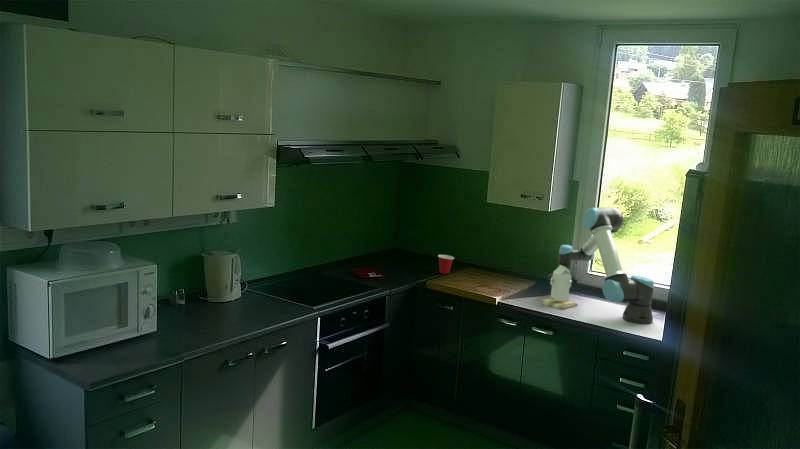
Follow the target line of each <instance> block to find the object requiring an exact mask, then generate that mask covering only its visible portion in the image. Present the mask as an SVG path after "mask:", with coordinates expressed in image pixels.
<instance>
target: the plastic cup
mask: <svg viewBox="0 0 800 449" xmlns="http://www.w3.org/2000/svg"><path fill="white" fill-rule="evenodd" d="M437 258H438V265H439V274H440V273H442V274H447V273H449V274H450V270H451V267H452V264H453V261H454V259H455V257H454V256H452V255H448V254H438V255H437ZM442 274H441V275H442Z"/></svg>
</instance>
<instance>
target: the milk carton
mask: <svg viewBox="0 0 800 449" xmlns="http://www.w3.org/2000/svg"><path fill="white" fill-rule="evenodd" d="M552 272H553V273H552V274H553V280H552V285H551V292H550V298H553V299H555V300H557V301H559V300H567V301H569V295H570V287H569V285H570V278H571V276H572V275H571V272H570V273H569V272H568V270H567V269H566V268H565V267H563V266H561V265H559V267H558V266H557V267H556V269H555V270H553V271H552Z"/></svg>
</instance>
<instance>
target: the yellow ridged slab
mask: <svg viewBox="0 0 800 449" xmlns="http://www.w3.org/2000/svg"><path fill="white" fill-rule="evenodd" d="M540 304H542V305H545V306H548V307H552V308H556V309H559V310H562V311H565V310H569V309H572V308H576V307H578V303H577V302H573V301H571V300H559V301H557V300H555V299H553V298H552V297H550V298H545V299H542V300H540Z"/></svg>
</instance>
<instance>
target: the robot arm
mask: <svg viewBox="0 0 800 449" xmlns="http://www.w3.org/2000/svg"><path fill="white" fill-rule="evenodd" d="M582 219H583V220H582V223H583V226H584V227H585V229H587V230H590V234H591V235H592V236H590V238H588V240H587V241H586V242H585V243H584V244H583V245H582V246H581V247H580V248H574V247H573V246H572V245H570V244H561V245H560V247H559V251H558V262H557V268H558V267H559V265H561V266H563V267H565V268H566V269H567V270H568V272H569V273H570V274H571V266H572V262H588V261H592V260H594V258H595V253H596V251H598V252H599V254H600V257H601V262H602V265H603V269H604V273H605V278H604V281H603V283H602V288H601V289H602V294H603V295H604V297H605V298H606V300H608V301H609V302H612V303H625V302H627V305H626V307H625V308H624V311H623V313H622V318H623V319H624V320H626V321H627V322H631V323H634V324H641V325H643V324H644V325H646V324H647V325H649V324H652V323H653V322H654V315H653V312H652V300H653V293H654V289H655V288H654V285H655V283H654V280H652V279H650V278H647V277H644V276H640V275H631V277H630V279H629V278H628V275H627V273H625V272H624V271H623V269H622V268H623V267H622V264H621V261H620V258H619V255H618V252H617V248H616V244H615V241H614V239H613V236H612V235H613V234H615V233H618V232H619V230H620V229H621V228H622V226H623V224H624V216H623V213H622V212H621V211H620V210H619V209H618V208H615V207H596V206H595V207H589V208H588V209H587V210H586V211H585V212H584V215H583V218H582ZM545 277H546V278H545V281H546V282H548V283H550V286H552V280H553V273H552V272H551V273H549V274H548V275H546V276H545ZM577 283H578V280H577V278H576V276H574V275H571V278H570V285H569V288H572V286H574V285H578V284H577Z"/></svg>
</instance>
